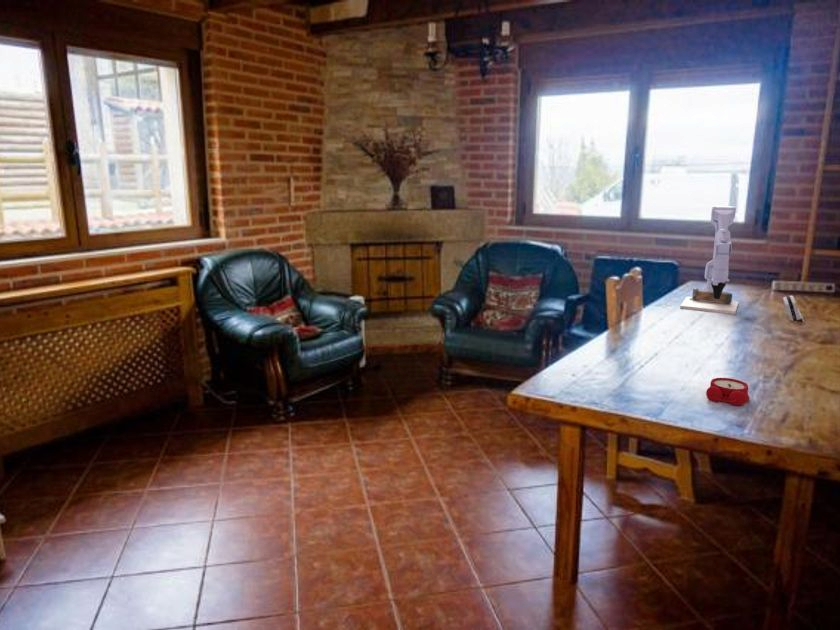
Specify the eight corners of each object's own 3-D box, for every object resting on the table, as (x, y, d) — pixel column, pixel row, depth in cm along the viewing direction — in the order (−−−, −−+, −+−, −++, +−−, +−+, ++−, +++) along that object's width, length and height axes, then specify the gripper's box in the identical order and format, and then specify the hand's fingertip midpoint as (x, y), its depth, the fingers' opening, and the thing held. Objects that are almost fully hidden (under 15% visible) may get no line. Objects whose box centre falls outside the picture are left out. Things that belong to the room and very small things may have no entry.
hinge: (804, 322, 247) (798, 298, 246) (791, 324, 249) (784, 301, 248) (799, 313, 261) (793, 291, 260) (787, 316, 263) (781, 294, 263)
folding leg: (691, 298, 281) (692, 289, 280) (693, 297, 284) (694, 288, 283) (729, 304, 271) (730, 293, 270) (731, 302, 274) (732, 292, 272)
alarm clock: (753, 381, 167) (749, 385, 154) (749, 404, 167) (745, 409, 154) (712, 374, 172) (705, 377, 160) (708, 396, 173) (701, 401, 160)
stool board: (686, 298, 289) (687, 288, 288) (738, 304, 279) (739, 293, 277) (680, 308, 270) (681, 296, 269) (735, 314, 259) (736, 302, 258)
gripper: (726, 272, 262) (722, 302, 265) (733, 268, 273) (729, 297, 277) (709, 270, 267) (705, 300, 270) (716, 266, 278) (713, 295, 281)
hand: (716, 298), depth 273 cm, fingers closed
